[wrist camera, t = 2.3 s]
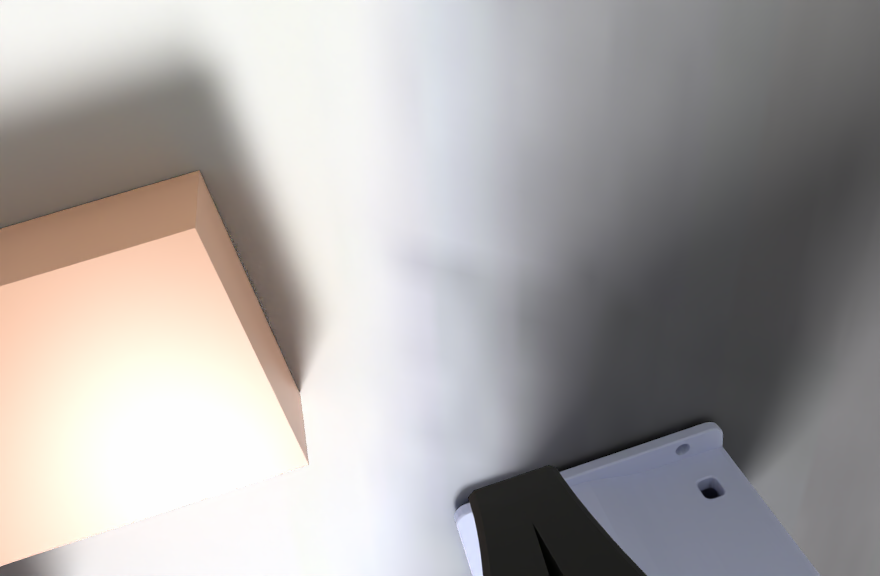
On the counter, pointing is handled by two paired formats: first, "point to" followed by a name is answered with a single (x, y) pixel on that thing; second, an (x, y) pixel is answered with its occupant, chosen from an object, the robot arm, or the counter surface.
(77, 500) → the peach rectangular block
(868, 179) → the counter surface
